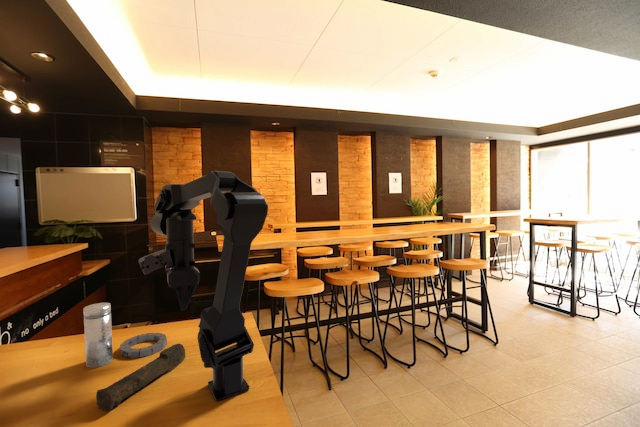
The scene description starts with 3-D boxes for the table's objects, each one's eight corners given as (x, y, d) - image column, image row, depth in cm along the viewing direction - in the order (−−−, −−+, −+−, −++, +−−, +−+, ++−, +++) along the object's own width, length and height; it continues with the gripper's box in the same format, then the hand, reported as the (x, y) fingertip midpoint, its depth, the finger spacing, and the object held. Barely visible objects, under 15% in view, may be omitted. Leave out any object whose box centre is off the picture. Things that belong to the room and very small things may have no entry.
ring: (169, 350, 76) (168, 344, 76) (120, 362, 70) (120, 356, 70) (163, 334, 84) (163, 329, 84) (120, 344, 79) (119, 339, 78)
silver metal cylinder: (112, 363, 70) (110, 307, 69) (85, 370, 67) (82, 312, 66) (112, 354, 74) (110, 301, 73) (86, 360, 71) (84, 305, 70)
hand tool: (109, 416, 54) (108, 390, 53) (94, 409, 55) (93, 384, 55) (193, 362, 71) (193, 342, 71) (181, 358, 72) (180, 339, 72)
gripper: (141, 235, 76) (143, 296, 77) (138, 247, 60) (141, 325, 61) (190, 232, 82) (191, 290, 83) (199, 243, 65) (201, 315, 66)
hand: (181, 303), depth 73 cm, fingers open, 9 cm apart
